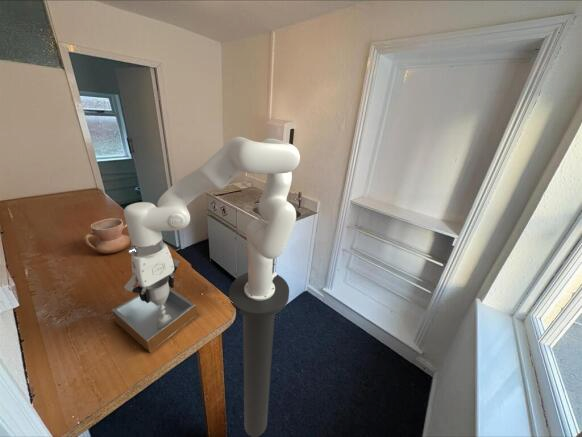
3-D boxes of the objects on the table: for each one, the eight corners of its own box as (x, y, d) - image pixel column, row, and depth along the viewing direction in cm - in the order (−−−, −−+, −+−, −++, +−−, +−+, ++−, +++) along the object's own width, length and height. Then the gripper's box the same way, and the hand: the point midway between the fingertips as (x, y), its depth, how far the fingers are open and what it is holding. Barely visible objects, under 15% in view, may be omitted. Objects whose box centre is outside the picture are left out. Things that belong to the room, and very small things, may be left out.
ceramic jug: (129, 237, 125) (123, 213, 119) (138, 248, 117) (132, 223, 111) (86, 249, 113) (77, 223, 107) (93, 263, 105) (84, 235, 98)
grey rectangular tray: (163, 292, 92) (160, 281, 90) (196, 315, 84) (195, 304, 81) (115, 321, 79) (111, 310, 76) (150, 352, 70) (146, 341, 68)
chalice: (159, 335, 74) (148, 292, 67) (149, 323, 78) (138, 281, 70) (180, 321, 80) (173, 280, 72) (170, 310, 83) (162, 270, 75)
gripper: (122, 265, 57) (136, 316, 65) (184, 237, 71) (190, 282, 78) (106, 254, 60) (122, 305, 68) (168, 230, 74) (176, 274, 82)
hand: (158, 292), depth 73 cm, fingers closed on chalice, 7 cm apart
